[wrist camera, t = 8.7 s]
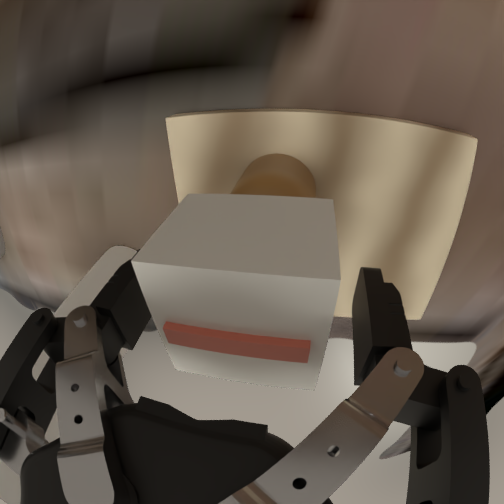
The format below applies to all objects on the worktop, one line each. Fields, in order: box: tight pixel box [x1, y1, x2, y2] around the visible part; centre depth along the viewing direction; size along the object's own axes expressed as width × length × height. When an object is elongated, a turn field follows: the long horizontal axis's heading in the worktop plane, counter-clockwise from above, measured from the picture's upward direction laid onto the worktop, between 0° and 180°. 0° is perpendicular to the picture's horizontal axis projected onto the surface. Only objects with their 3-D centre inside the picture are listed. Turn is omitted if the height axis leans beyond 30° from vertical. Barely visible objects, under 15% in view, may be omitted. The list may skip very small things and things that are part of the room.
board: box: [166, 109, 478, 320], centre depth 20 cm, size 20×16×2 cm
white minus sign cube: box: [131, 194, 341, 390], centre depth 10 cm, size 6×6×5 cm
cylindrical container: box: [0, 246, 137, 504], centre depth 18 cm, size 7×7×25 cm
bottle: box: [230, 153, 316, 198], centre depth 14 cm, size 5×5×10 cm
